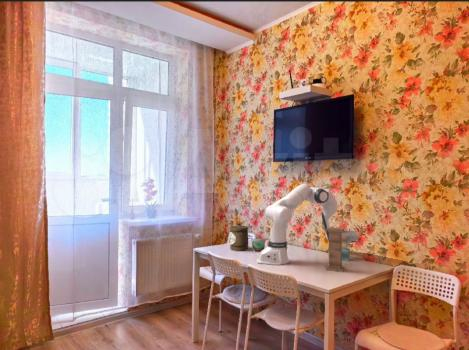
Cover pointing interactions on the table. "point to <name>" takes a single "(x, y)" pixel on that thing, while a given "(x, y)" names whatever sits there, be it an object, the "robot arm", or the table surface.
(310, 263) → the table surface
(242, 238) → the wooden container
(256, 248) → the food container
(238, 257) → the table surface
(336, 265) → the stand
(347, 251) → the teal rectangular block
